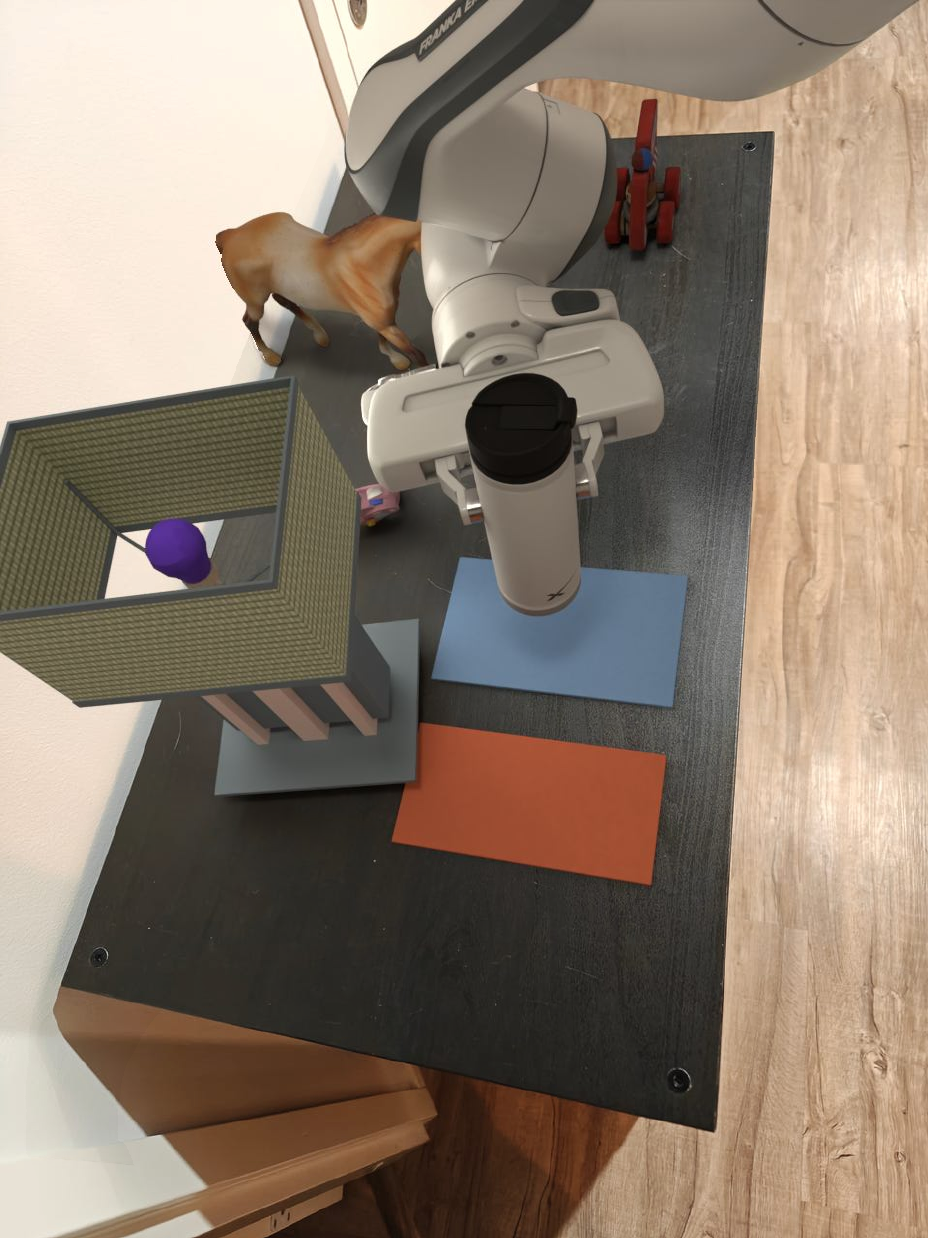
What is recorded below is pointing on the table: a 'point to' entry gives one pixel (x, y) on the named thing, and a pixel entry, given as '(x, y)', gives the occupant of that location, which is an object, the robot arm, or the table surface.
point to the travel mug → (528, 489)
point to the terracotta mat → (534, 802)
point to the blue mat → (567, 637)
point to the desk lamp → (208, 583)
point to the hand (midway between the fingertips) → (530, 505)
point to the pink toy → (377, 503)
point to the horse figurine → (323, 274)
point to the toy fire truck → (644, 190)
